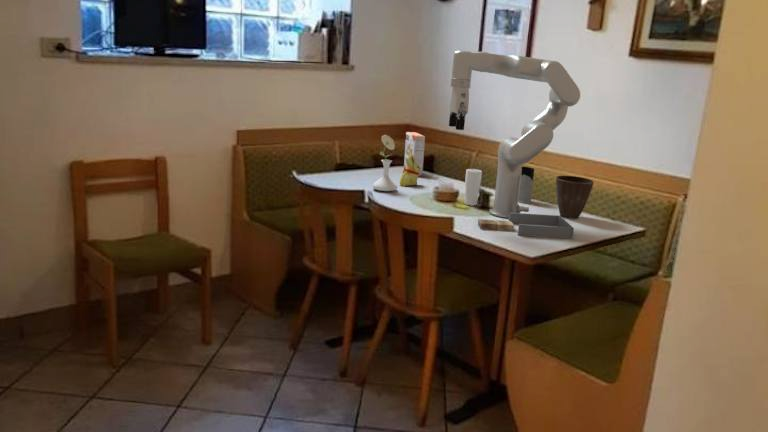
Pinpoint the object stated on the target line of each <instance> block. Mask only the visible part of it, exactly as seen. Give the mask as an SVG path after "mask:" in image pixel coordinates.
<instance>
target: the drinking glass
mask: <svg viewBox="0 0 768 432" xmlns="http://www.w3.org/2000/svg"><path fill="white" fill-rule="evenodd" d="M482 174H483V173H482V170H480V169H476V168H467V169H465V178H464V180H465V181H464V204H465V205H466V206H469V205H470V207H471V206H472V207H474V205H475V206H477V205H476V204H478V200H479V199H478V198H479V192H480V189H481V188H480V187H481V183H482V176H483V175H482Z"/></svg>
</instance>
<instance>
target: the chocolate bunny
mask: <svg viewBox="0 0 768 432" xmlns="http://www.w3.org/2000/svg"><path fill="white" fill-rule="evenodd" d="M406 162H407V165H408V166H407V168H406V169H405V168H404V167H403V171H402V174H401V178H400V180H399V184H400V186H402V187H408V186H417V185H418V178H419V177H420V176H419V171H420V165H419V164H418V163H417V162H416V160H415V158H414V156H413V154H410V155H409V156H408V157H407V158H406Z"/></svg>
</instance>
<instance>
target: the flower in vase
mask: <svg viewBox="0 0 768 432" xmlns="http://www.w3.org/2000/svg"><path fill="white" fill-rule="evenodd" d="M381 142H382V144H383V146H384V148H383V151H382V150H380V152H379V155H380V156H382V157H384V159H381V160H380V161H381V162H382V166H383V174H382V176H381V178H379V179H378V180H376V181H375V182H374V183H373V184H372V188H373V189H375V190H377V191H380V192H381V191H383V192H392V191H396V190H397V189H398V185H397V184H396V183H395V182H394V181H393V180H392V178H390V177H389V170H390V166H391V163H393V160H392V159H387V157H389V156H392V153H390V154H388V155H385V150H386V148H387V149H388V150H390V151H393V150H395V149H396V148H395V147H396V145H395V142H394V139H393V138H392V137H391V136H390V135H387V134H383V135H382V136H381Z"/></svg>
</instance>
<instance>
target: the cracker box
mask: <svg viewBox="0 0 768 432" xmlns="http://www.w3.org/2000/svg"><path fill="white" fill-rule="evenodd" d="M425 145H426V136H425V135H423V134H420V133H419V132H415V131H406V132H405V145H404V147H405V148H404V159H403V160H404V161H403V162H404V163H403V169H404V168H405V169H406V168H407V166H408V165H407V162H406V158H407V157H408V156H409V155H410V154H413V156H414V158H415V160H416V162H417V163H418V164H419V165H420V171H419V176H418V177H423V173H424V157H425V147H426V146H425Z"/></svg>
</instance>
